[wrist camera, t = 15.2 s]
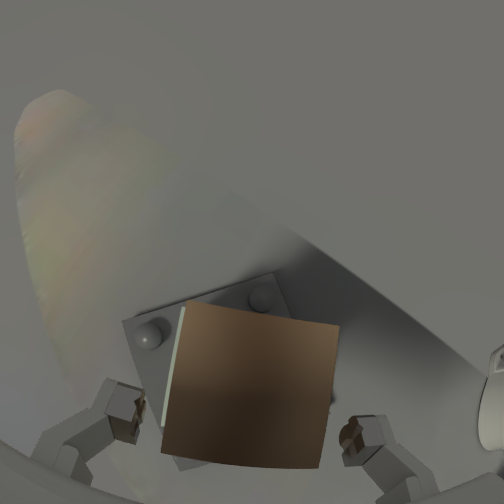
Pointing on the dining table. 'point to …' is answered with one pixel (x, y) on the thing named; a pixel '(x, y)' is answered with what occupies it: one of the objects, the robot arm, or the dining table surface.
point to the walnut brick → (250, 388)
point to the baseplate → (164, 333)
